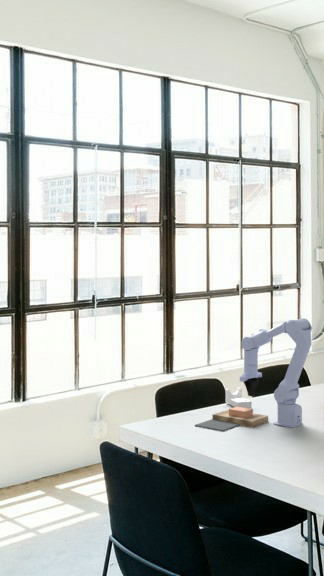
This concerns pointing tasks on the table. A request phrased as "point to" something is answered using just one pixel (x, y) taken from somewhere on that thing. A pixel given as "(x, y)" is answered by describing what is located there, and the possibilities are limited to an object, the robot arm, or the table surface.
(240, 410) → the block
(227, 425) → the mat
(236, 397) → the bracket
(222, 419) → the board
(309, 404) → the table surface
